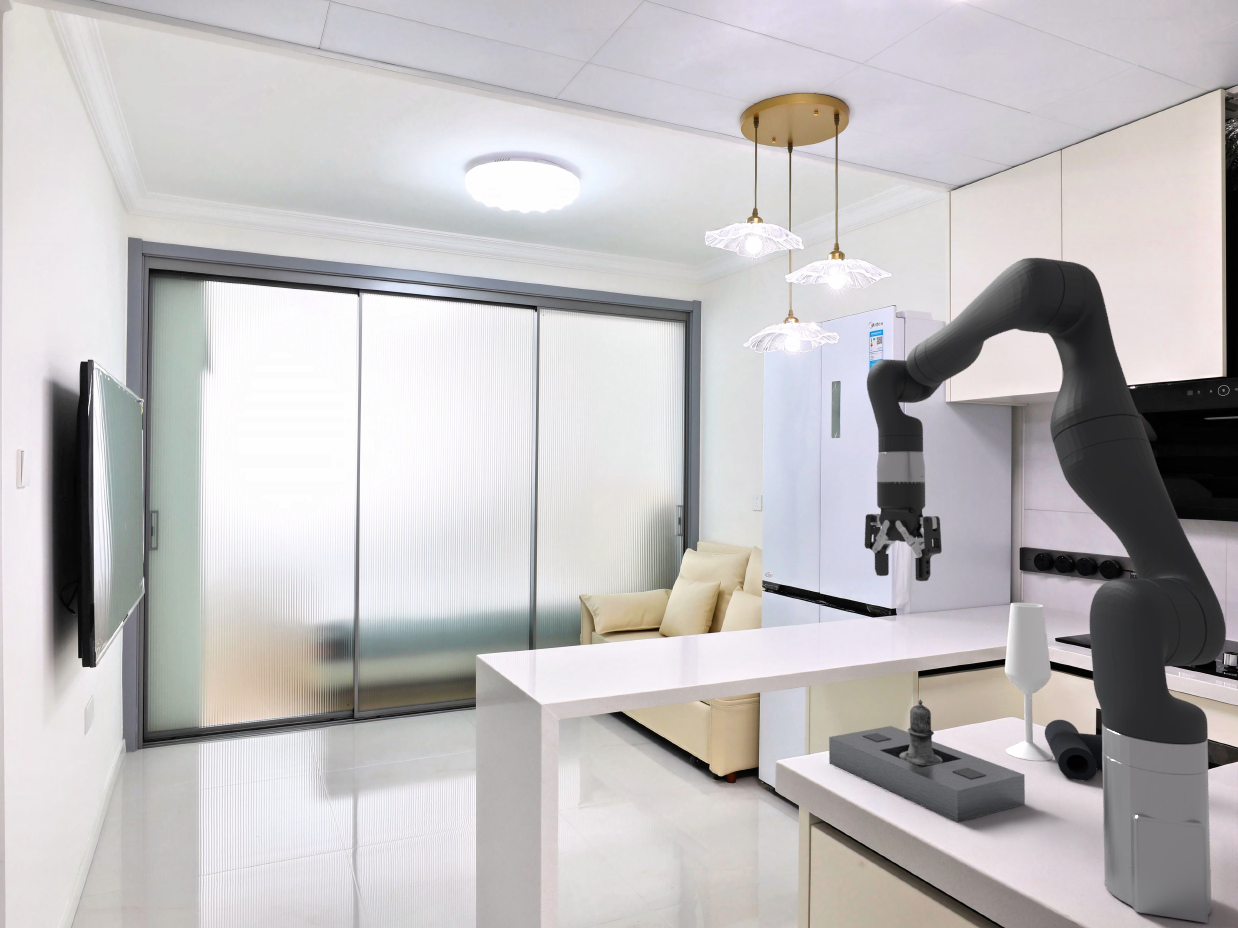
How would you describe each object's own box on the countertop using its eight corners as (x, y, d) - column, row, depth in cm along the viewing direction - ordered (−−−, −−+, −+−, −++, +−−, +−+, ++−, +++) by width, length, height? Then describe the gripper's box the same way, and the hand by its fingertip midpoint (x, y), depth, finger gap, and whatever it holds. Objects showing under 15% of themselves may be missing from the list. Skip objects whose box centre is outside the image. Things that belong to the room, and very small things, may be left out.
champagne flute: (1003, 744, 130) (1002, 600, 131) (1049, 749, 127) (1047, 603, 128) (1007, 757, 124) (1005, 606, 124) (1055, 762, 121) (1053, 608, 122)
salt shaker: (921, 792, 109) (920, 706, 109) (890, 778, 114) (890, 696, 115) (952, 786, 111) (951, 702, 112) (921, 772, 117) (920, 692, 117)
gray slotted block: (1024, 804, 105) (1024, 773, 105) (957, 822, 99) (957, 789, 100) (891, 750, 127) (890, 725, 127) (829, 762, 121) (829, 736, 121)
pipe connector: (1124, 723, 125) (1148, 752, 111) (1125, 757, 125) (1150, 790, 111) (1044, 717, 129) (1057, 744, 115) (1045, 749, 129) (1059, 780, 115)
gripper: (952, 479, 124) (953, 581, 123) (885, 480, 136) (886, 572, 136) (918, 479, 120) (919, 584, 120) (852, 480, 133) (853, 574, 133)
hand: (901, 578), depth 128 cm, fingers open, 8 cm apart
